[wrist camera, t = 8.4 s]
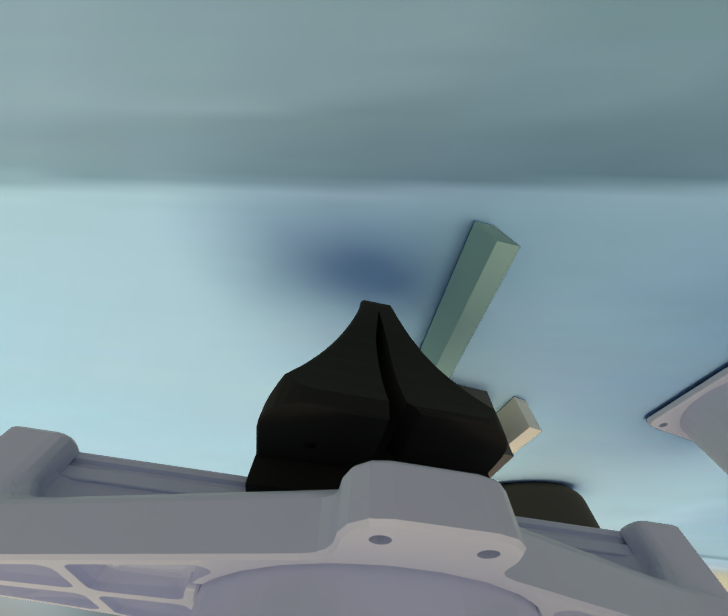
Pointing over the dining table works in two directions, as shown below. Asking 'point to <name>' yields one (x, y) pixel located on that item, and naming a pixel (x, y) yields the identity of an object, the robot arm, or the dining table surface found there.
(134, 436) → the dining table surface
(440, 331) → the sage green post
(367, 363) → the robot arm
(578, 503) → the leaning round-cornered charcoal block
